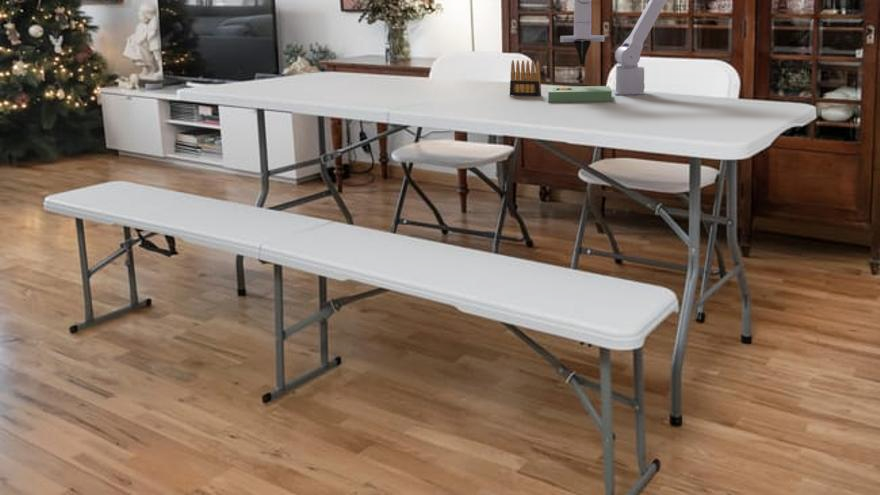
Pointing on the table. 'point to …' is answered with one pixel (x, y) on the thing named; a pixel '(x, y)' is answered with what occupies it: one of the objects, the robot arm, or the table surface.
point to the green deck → (580, 94)
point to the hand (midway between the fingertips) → (581, 64)
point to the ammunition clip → (525, 80)
